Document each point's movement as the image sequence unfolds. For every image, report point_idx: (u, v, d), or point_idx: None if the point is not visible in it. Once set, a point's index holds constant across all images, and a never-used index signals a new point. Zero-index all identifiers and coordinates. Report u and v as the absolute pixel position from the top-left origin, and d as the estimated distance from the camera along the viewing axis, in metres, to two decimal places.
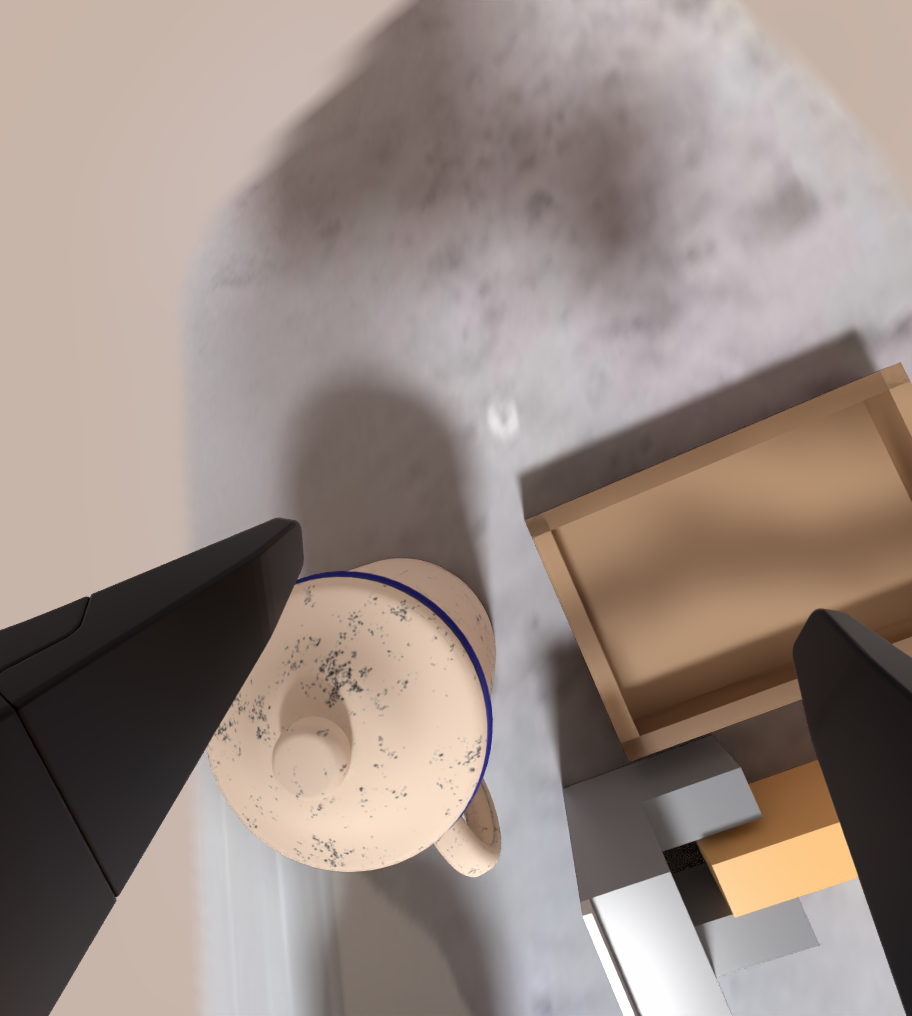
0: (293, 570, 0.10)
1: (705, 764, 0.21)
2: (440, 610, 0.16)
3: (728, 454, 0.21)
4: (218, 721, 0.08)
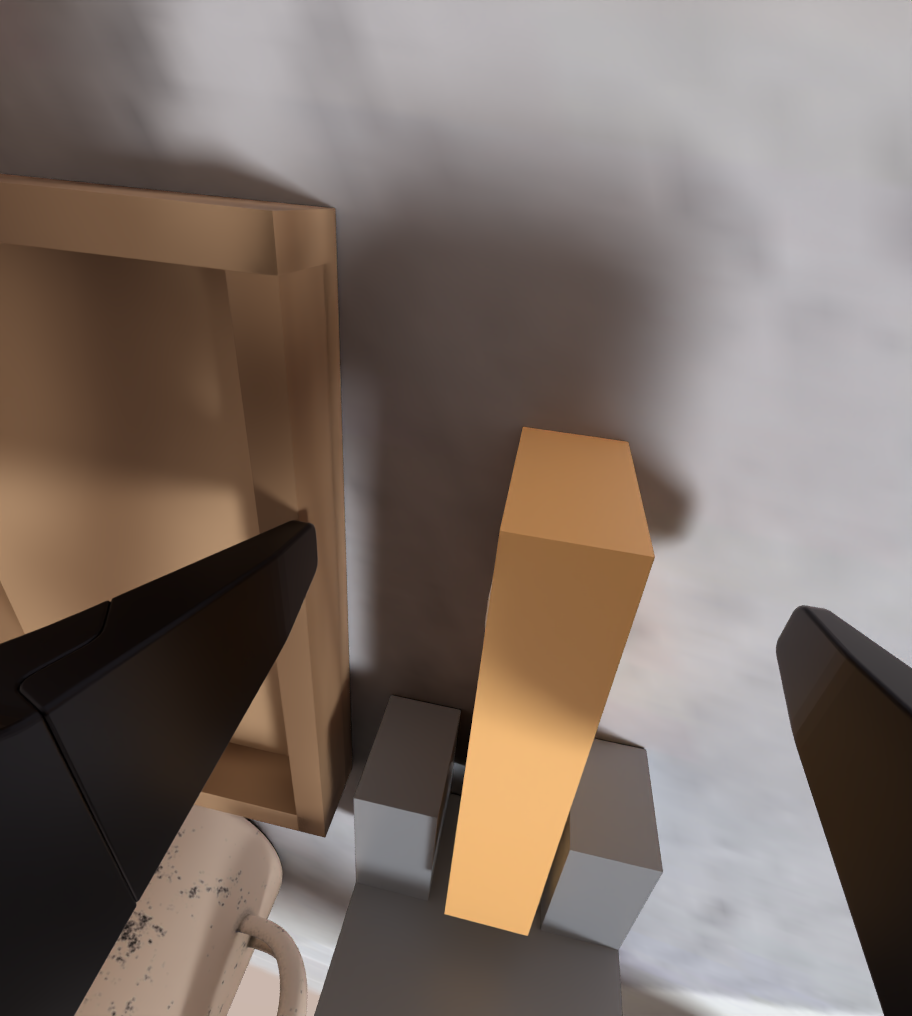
0: (308, 573, 0.10)
1: None
2: None
3: None
4: (236, 725, 0.08)
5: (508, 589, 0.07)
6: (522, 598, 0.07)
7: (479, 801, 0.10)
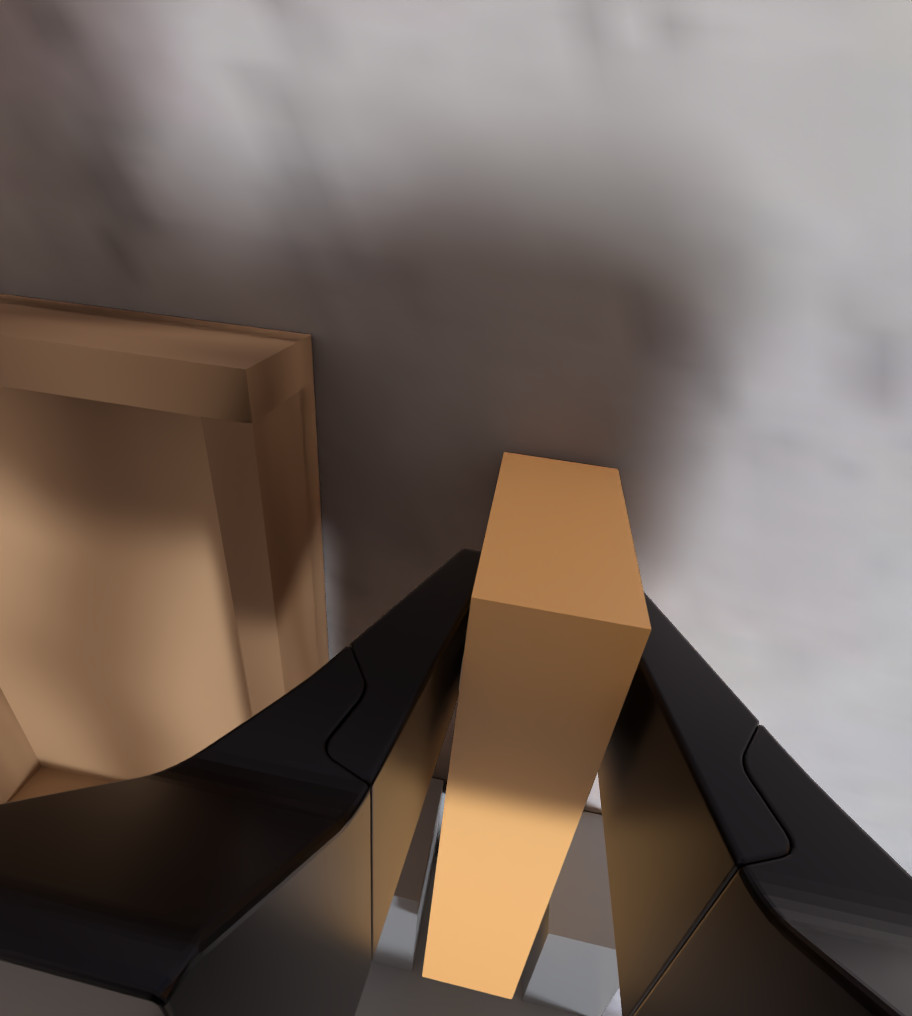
0: None
1: None
2: None
3: None
4: (434, 768, 0.08)
5: (482, 659, 0.06)
6: (499, 669, 0.06)
7: (456, 871, 0.09)
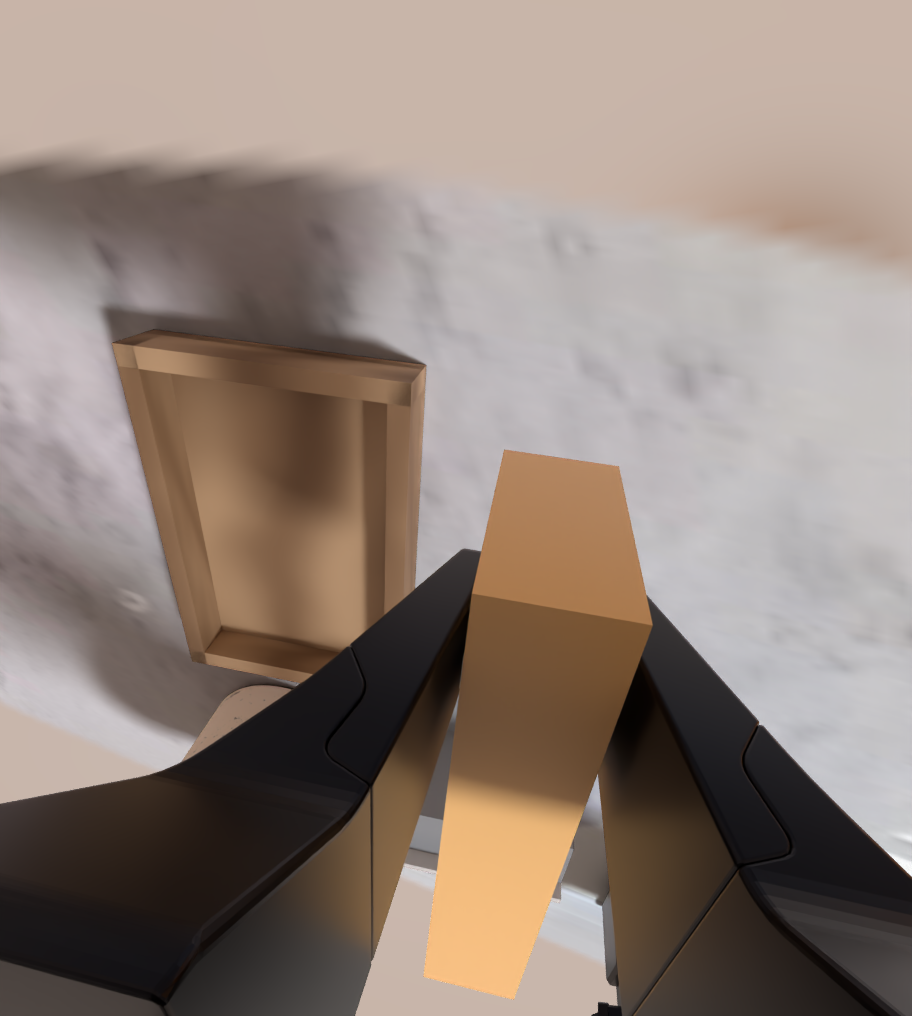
0: None
1: None
2: None
3: (172, 520, 0.22)
4: (434, 767, 0.08)
5: (483, 656, 0.06)
6: (500, 666, 0.06)
7: (457, 871, 0.09)
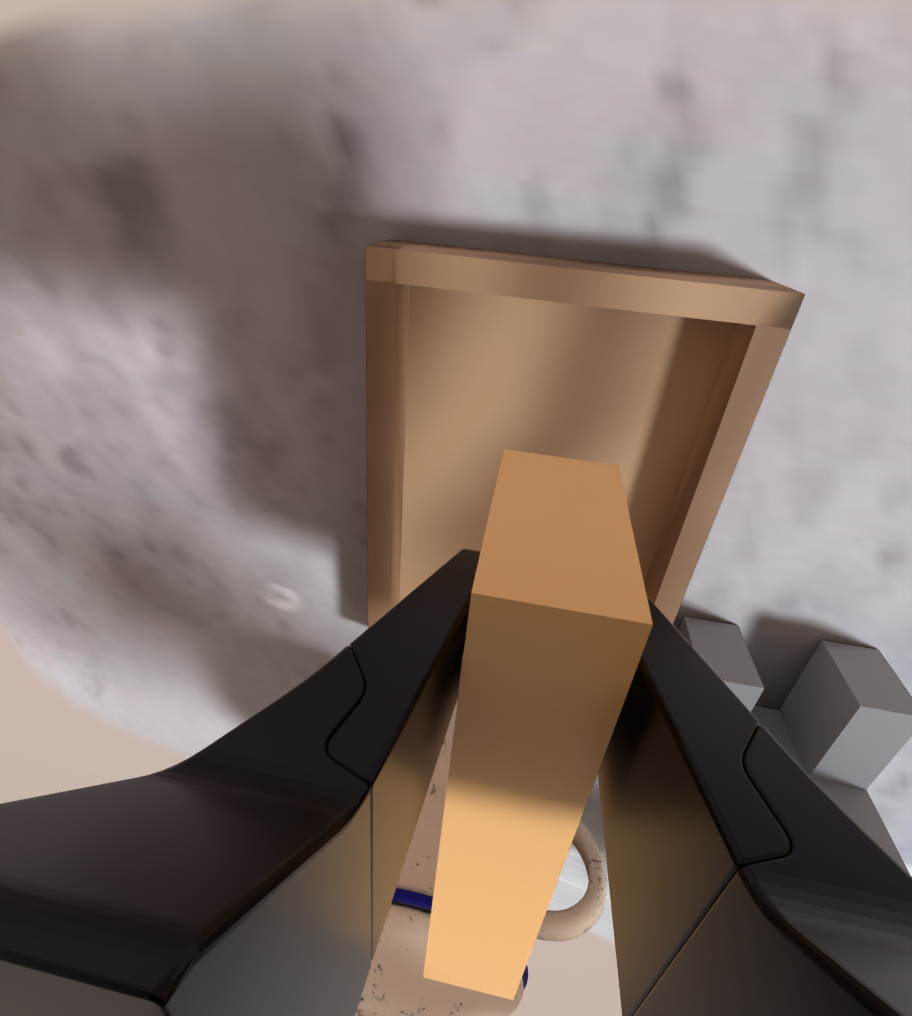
0: None
1: None
2: None
3: (389, 494, 0.17)
4: (434, 767, 0.08)
5: (483, 656, 0.06)
6: (499, 666, 0.06)
7: (457, 871, 0.09)
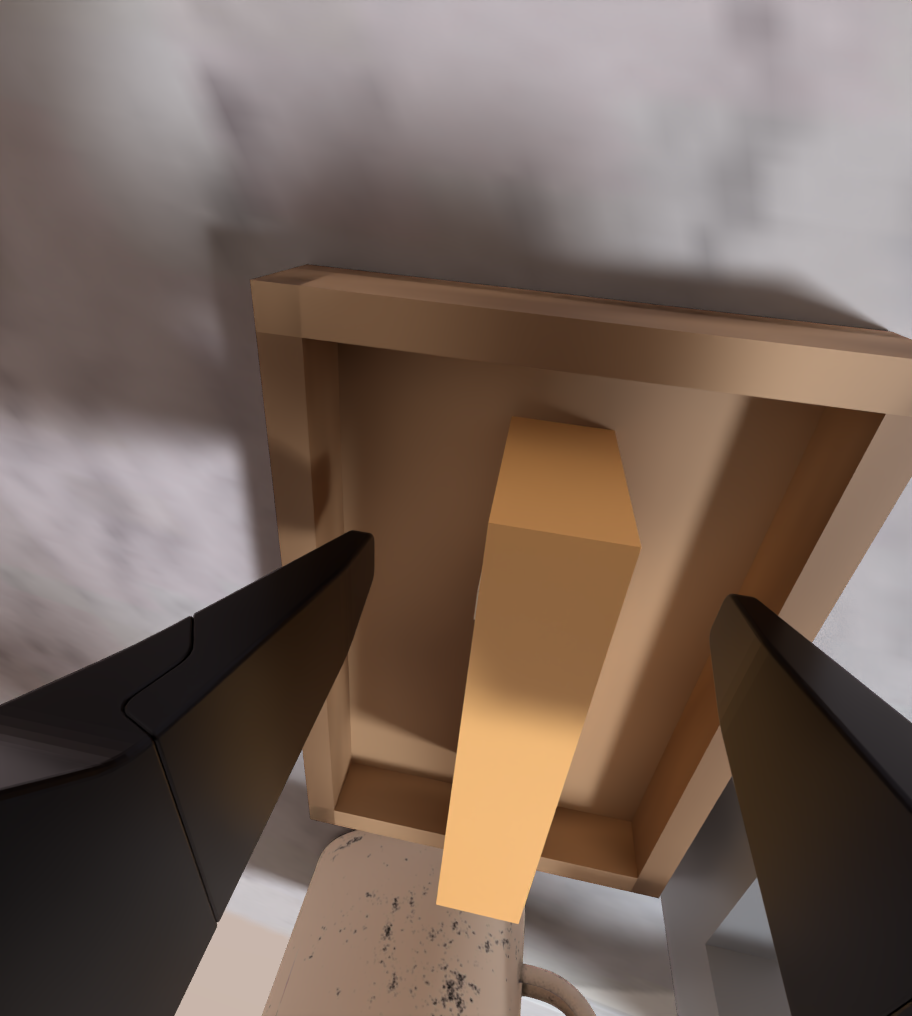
0: (367, 583, 0.09)
1: (733, 851, 0.14)
2: None
3: None
4: (304, 740, 0.08)
5: (497, 580, 0.07)
6: (511, 589, 0.08)
7: (469, 792, 0.10)
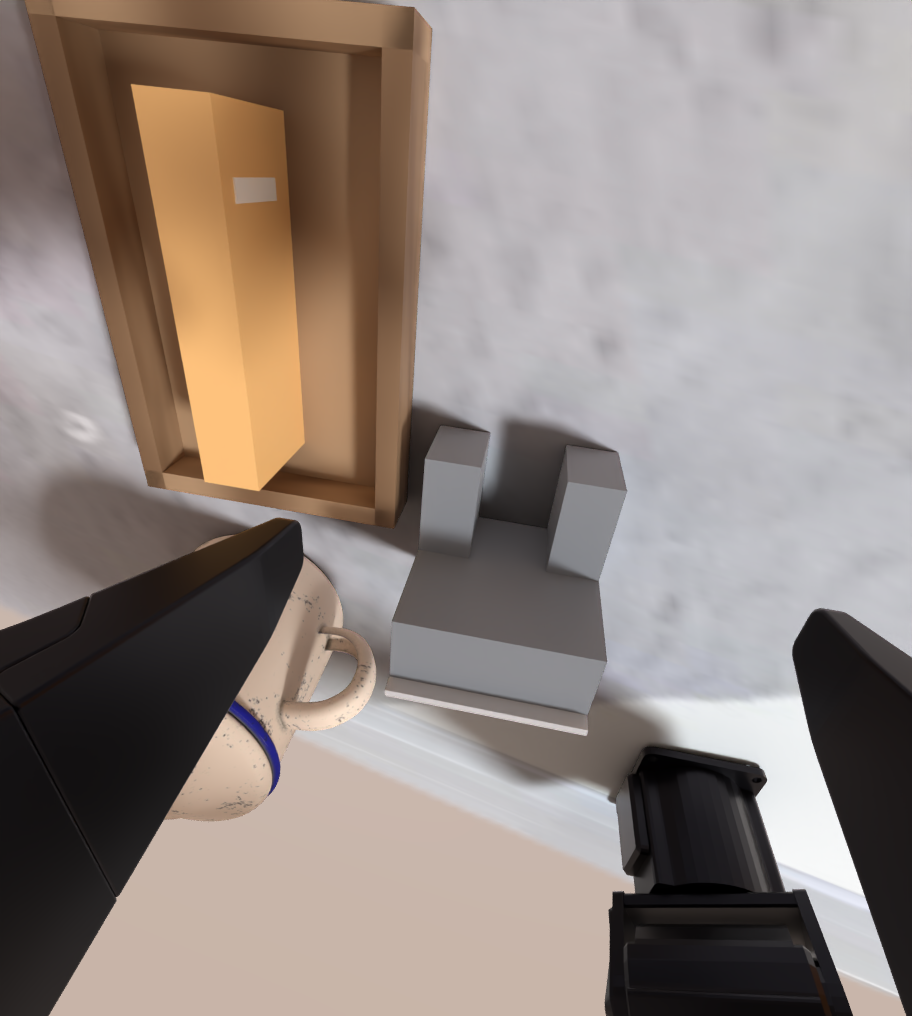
0: (293, 570, 0.10)
1: None
2: None
3: (113, 271, 0.18)
4: (218, 722, 0.08)
5: (148, 133, 0.13)
6: (157, 139, 0.13)
7: (190, 344, 0.16)
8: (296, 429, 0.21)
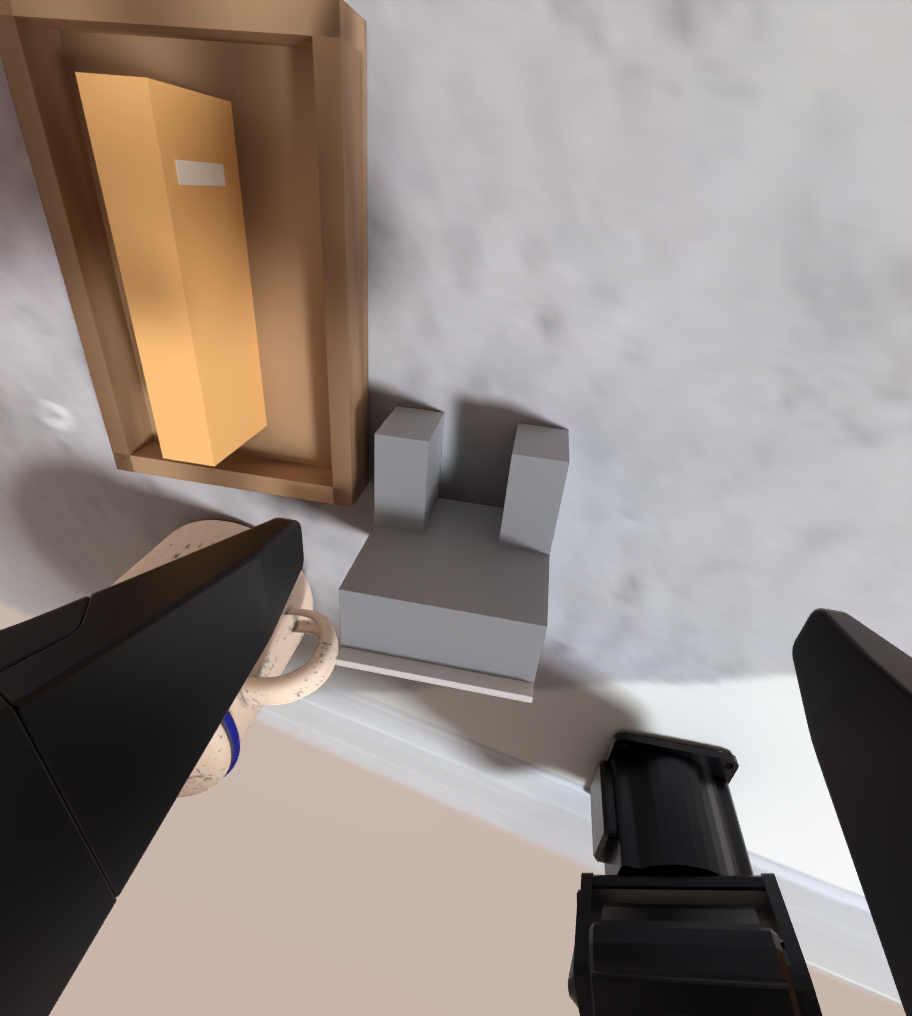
0: (293, 570, 0.10)
1: None
2: None
3: (75, 257, 0.19)
4: (218, 721, 0.08)
5: (93, 117, 0.14)
6: (102, 124, 0.14)
7: (141, 321, 0.17)
8: (256, 410, 0.21)
